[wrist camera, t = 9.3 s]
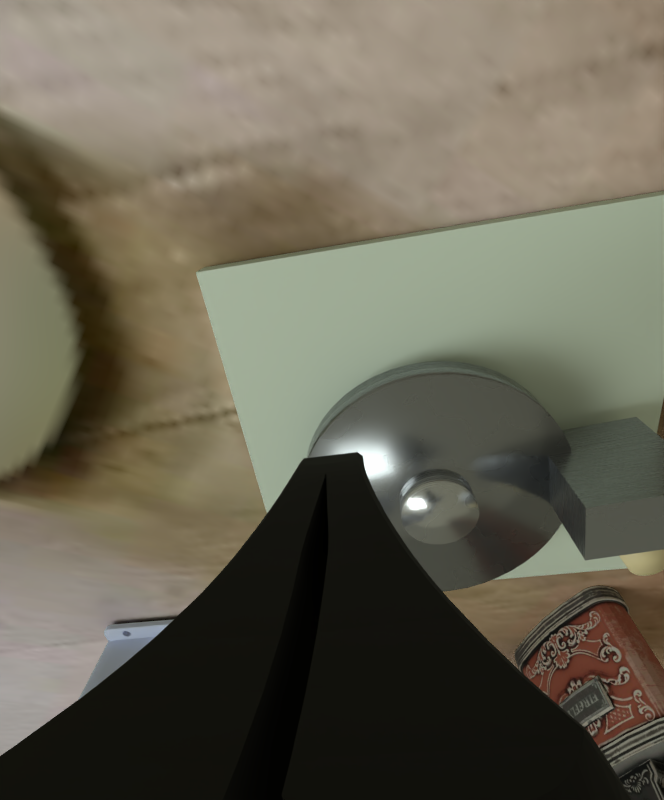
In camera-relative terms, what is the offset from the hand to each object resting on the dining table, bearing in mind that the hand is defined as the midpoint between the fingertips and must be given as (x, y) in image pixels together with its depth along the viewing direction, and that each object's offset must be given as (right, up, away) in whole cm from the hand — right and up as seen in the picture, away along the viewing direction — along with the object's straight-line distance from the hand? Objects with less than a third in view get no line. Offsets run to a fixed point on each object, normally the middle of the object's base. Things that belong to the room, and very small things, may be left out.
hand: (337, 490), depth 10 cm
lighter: (+14, -12, +17) cm, 25 cm away
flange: (+6, -1, +9) cm, 11 cm away
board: (+5, +1, +11) cm, 12 cm away
